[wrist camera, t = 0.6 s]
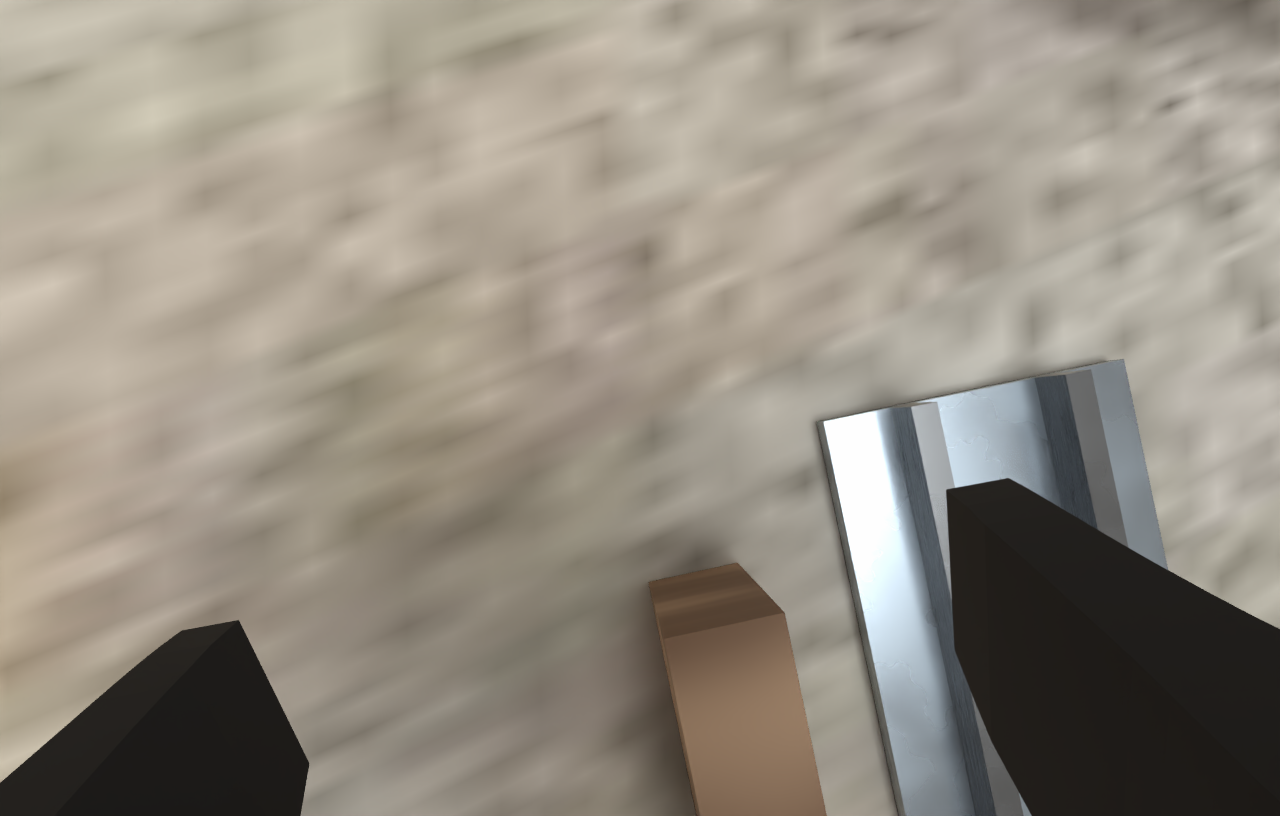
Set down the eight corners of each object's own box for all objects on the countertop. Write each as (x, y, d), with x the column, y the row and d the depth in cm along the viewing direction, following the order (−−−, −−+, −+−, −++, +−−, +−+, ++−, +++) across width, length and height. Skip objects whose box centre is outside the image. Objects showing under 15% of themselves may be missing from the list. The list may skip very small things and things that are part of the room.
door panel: (811, 920, 30) (885, 1097, 22) (722, 941, 30) (764, 1127, 22) (737, 562, 31) (784, 612, 23) (648, 581, 30) (663, 638, 22)
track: (1230, 949, 31) (1298, 1005, 28) (940, 1018, 30) (977, 1083, 27) (1107, 361, 31) (1161, 354, 28) (816, 421, 31) (839, 421, 28)
